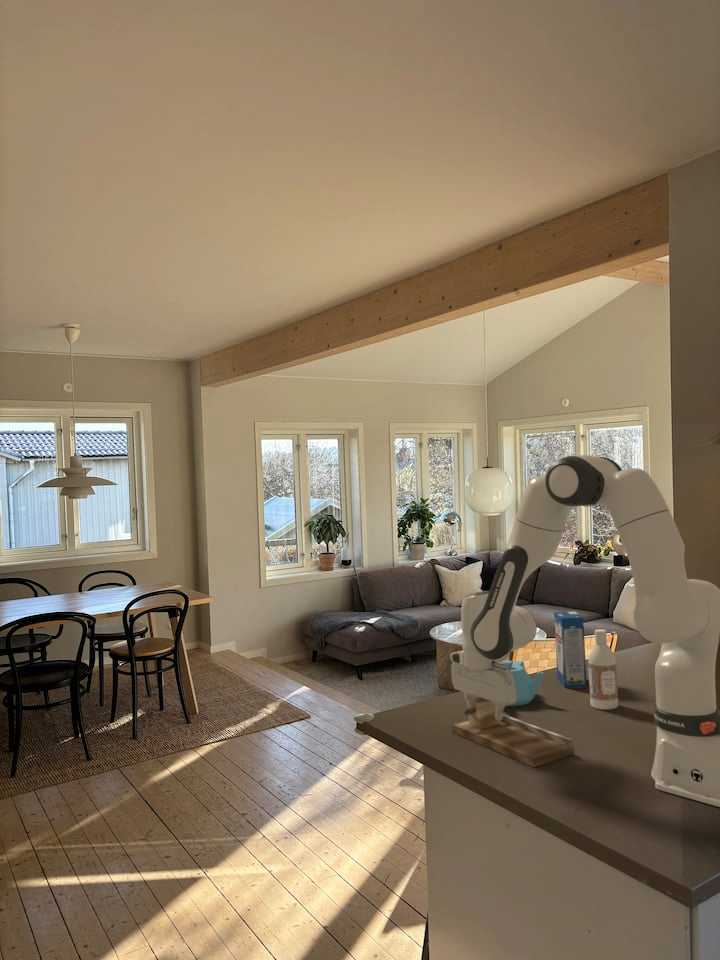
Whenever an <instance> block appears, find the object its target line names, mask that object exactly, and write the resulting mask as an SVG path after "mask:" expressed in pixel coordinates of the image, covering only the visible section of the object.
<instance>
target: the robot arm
mask: <svg viewBox="0 0 720 960" xmlns="http://www.w3.org/2000/svg"><path fill="white" fill-rule="evenodd" d="M595 506H603V507H604V508H605V509H606V510H607V511H608V513H609V515H610V516H611V519H612V522H613V524H614V527H615V529H616V532H617V533H618V536H619V539H620V541H621V544H622V546H623V548H624V549H623V550H624V552H625V554H626V556H627V559H628V561H629V566H630V569H631V572H632V579H633V585H634V592H635V607H634V610H633V622H634V625H635V628H636V630H637V631H638V633H639V634H640V635H641V636H642V637H643V638H644V639H646V640H647V641H649V642H651V643H653V644H657V645H661V647H660V651H659V656H658V658H657V660H656V662H655V664H654V665H655V666H654V680H655V682H654V684H655V685H654V686H655V704H654V706H653V709H654V711H653V712H654V714H653V717H654V724H655V726H656V740H655V741H656V743H655V753H654V760H653V765H652V769H651V772H650V775H651V778H652V779H653V780H654V782H655V783H654V787H655V789H657V790H659V791H662V792H666V793H669V794H673V795H675V796H679V797H683V798H687V799H691V800H693V801H697V802H701V803H705V804H707V805H710V806H711V805H712V806H715V807H719V808H720V711H719V709H718V708H717V694H716V663H717V662H716V661H717V654H718V648H719V641H720V587H718V586H717V585H715V584H714V583H712V582H710V581H707V580H702V579H694V578H690V579H689V578H688V576H687V571H686V566H685V565H686V564H685V552H686V547H685V543H684V541H683V538H682V535H681V534H680V531H679V529H678V526H677V524H676V521H675V520H674V517H673V515H672V513H671V511H670V508H669V505H668V504H667V501H666V500H665V498H664V496H663V494H662V492H661V491H660V489H659V487H658V486H657V484H656V483H655V481H654V480H653V478H652V477H651V476H650V474H649V473H648V472H647V471H645V470H644V469H643V468H642V469H641V468H636V467H635V468H634V467H631V468H624V469H623V468H622V467H621V466H620V465H619V464H618V463H617V462H616V461H614V460H613V459H611V458H608V457H604V456H593V455H588V454H587V455H586V454H584V455H583V454H581V455H567V456H564V457H562V458H559V459H557V460H556V461H554V462H553V463H551V465H550V466H549V467H548V469H547V471H546V474H542V475H541V474H540V475H536V476H534V477H532V478H531V479H530V480H529V482H528V484H527V486H526V487H525V491H524V492H523V495H522V497H521V499H520V501H519V506H518V508H517V512H516V515H515V518H514V522H513V526H512V528H511V529H512V530H511V533H510V535H509V539H508V541H507V544H506V547H505V550H504V551H503V554H502V556H501V559H500V561H499V563H498V566H497V568H496V571H495V574H494V576H493V580H492V583H491V585H490V589H489V590H483V591H477V592H471V593H469V594H467V595H465V597H463V599H462V603H461V609H460V619H461V622H460V623H461V631H462V634H463V642H462V650H459V651H455V652H452V653H450V661H451V662H452V664H451V671H450V672H451V682H452V685H453V686H452V687H453V688H454V689H455V690H456V691H459V692H463V697H464V700H465V702H466V704H467V708H469V702H468V700H472V699H474V697H476V698H483V699H486V700H489V701H492V702H495V707H496V710H495V712H493V719H494V720H496V721H501V720H502V714H503V712H504V710H505V708H506V707H508V706H507V705H511V704H514V703H515V702H516V699H517V696H516V688H515V682H514V678H513V675H512V671H511V670H510V669H509V668H508V666H507V665H505V664H503V663H501V659H502V658H503V657H506V656H507V655H508V654H509V653H512V652H514V651H516V650H518V649H520V648H523V647H525V646H527V645H528V644H529V643H531V642H533V640H534V639H535V638H536V635H537V631H538V629H537V627H538V625H537V622H536V619H535V617H534V615H533V614H532V612H531V611H529V609H527V608H525V607H523V606H518V605H516V604H517V600H518V598H519V596H520V592H521V590H522V587H523V585H524V583H525V581H526V580H527V579H528V578H529V576H531V574H533V572H534V571H536V570H537V569H538V568H540V567H541V566H543V565H544V564H545V563H547V562H548V561H549V560H551V559H552V558H553V557H554V555H555V554H556V551H557V550H558V548H559V546H560V544H561V541H562V537H563V534H564V531H565V527H566V524H567V523H566V522H567V520H568V516H569V514H570V512H571V510H572V509H573V508H574V507H586V508H589V507H590V508H591V507H595ZM507 669H508V670H507Z"/></svg>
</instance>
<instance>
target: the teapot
mask: <svg viewBox="0 0 720 960" xmlns="http://www.w3.org/2000/svg"><path fill="white" fill-rule="evenodd" d="M524 663H525V662H524V661H522V660H516V661H515V662H514V661H513V660H503V661H502V664H505V665H507V666H508V668H509V669H510V670H511V671H512V675H513V678H514V682H515V688H516V696H517V699H516V702H515V703H514V704H511V705H507V706H506V707H521V706H525V705H528V704H529V703H531V701H533V700H534V698H535V696H536V694H537V693H538V690H539V688H540V685H541V682H542V680H543V677H544V673H545V672H544V671H537V672H536V675H535V676H534V678H533V679H532V678H531V676H530V675H529V673H528V672H527V670H526V667H525V664H524ZM507 670H508V669H507Z"/></svg>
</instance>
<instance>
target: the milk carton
mask: <svg viewBox="0 0 720 960" xmlns="http://www.w3.org/2000/svg"><path fill="white" fill-rule="evenodd" d="M553 618H554V632H555V633H554V638H555V654H556V655H555V658H556V673H557V674H556V676H557V680H558V681H559V683H561V685H562V687H564V689H571V688H573V689H575V688H588V684H587V662H586V646H585V645H586V644H585V643H586V642H585V625H584V624H585V623H584V622H585V621H584V617H583V616H582V615H581V614H579V613H578V612H577V611H576V610H575V611H554V612H553Z"/></svg>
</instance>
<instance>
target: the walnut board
mask: <svg viewBox="0 0 720 960" xmlns="http://www.w3.org/2000/svg"><path fill="white" fill-rule="evenodd" d="M499 722H500V724H498V725H494V726H491V727H487V728H483V729H478V728H476V727H473V726H471V725H470V722H469V719H468V720H464V721H461V722H457V723H453V724H451V725H452V733H453V734H455V735H457V736H460V737H462V738H464V739H467V740H469V741H472V742H473V741H474V743H476V744H478V745H480V744H481V745H480V746H483V747H485V748H487V747H488V749H490V750H493V751H494V750H495V751H494V752H497V753H500V754H501V753H502V755H503V756H507V757H508V756H509V758H510V759H513V758H514V759H513V760H515V759H516V760H515V761H518V762H520V763H522V762H523V763H522V764H525V765H527V766H529V765H530V767H532V768H537V767H539V765H540V766H542V764H543V765H545V763H546V764H549V763H552V762H555V761H558V760H561V759H564V758H563V757H565V758H567V757H566V756H568V757H570V756H569V755H571V756H574V755H575V745H574V744H573V739H572V738H570V737H567V736H565V735H562V734H559V733H557V732H553V731H550V730H548V729H545V728H542V727H539V726H538V725H537V726H536V725H534V724H531V723H528V722H526V721H524V720H520V719H518V718H514V717H513V716H509V715H507V714H503V713H502V720H501V721H499ZM573 754H574V755H573ZM557 759H558V760H557ZM554 760H555V761H554ZM551 761H552V762H551ZM548 762H549V763H548ZM536 766H537V767H536Z"/></svg>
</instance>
